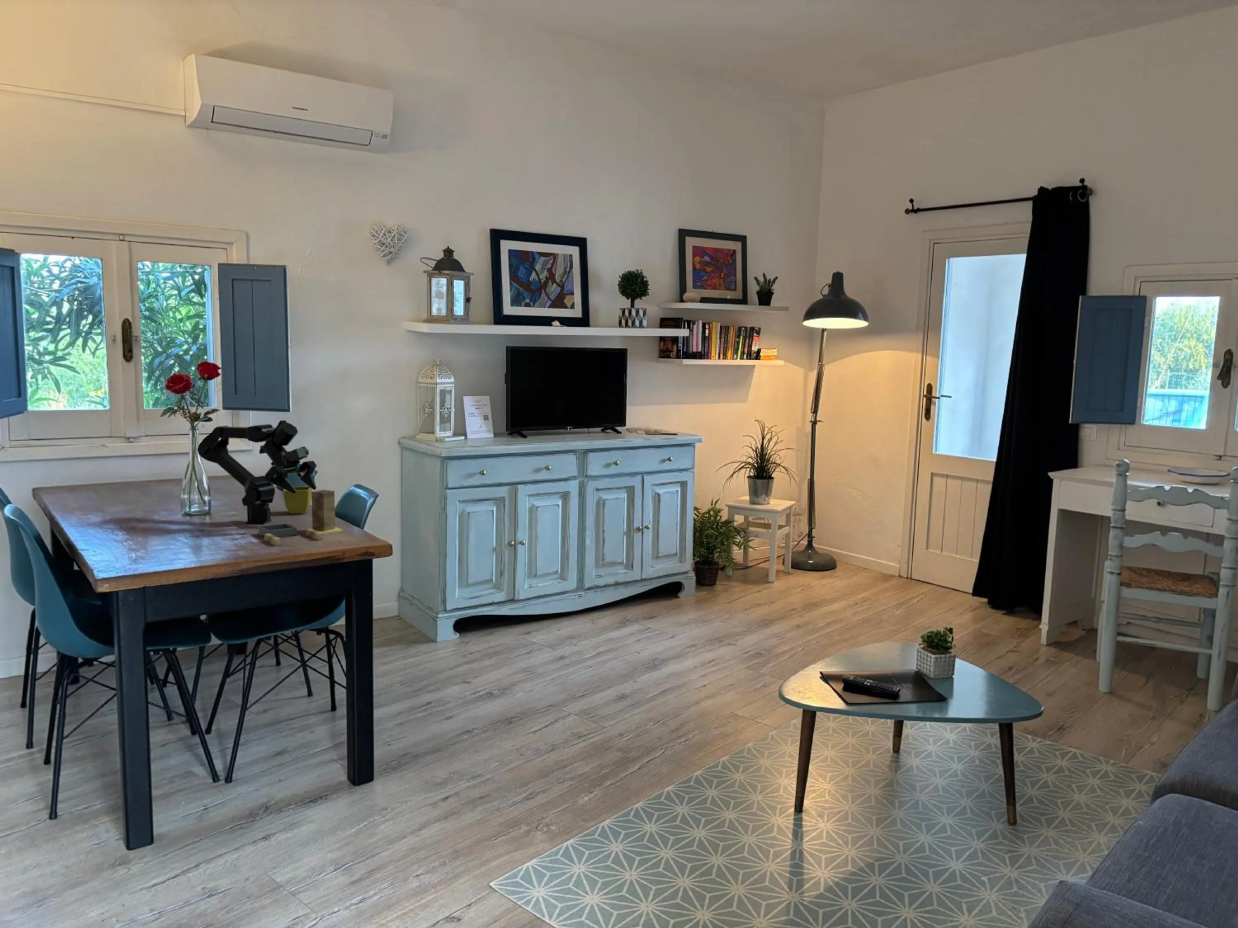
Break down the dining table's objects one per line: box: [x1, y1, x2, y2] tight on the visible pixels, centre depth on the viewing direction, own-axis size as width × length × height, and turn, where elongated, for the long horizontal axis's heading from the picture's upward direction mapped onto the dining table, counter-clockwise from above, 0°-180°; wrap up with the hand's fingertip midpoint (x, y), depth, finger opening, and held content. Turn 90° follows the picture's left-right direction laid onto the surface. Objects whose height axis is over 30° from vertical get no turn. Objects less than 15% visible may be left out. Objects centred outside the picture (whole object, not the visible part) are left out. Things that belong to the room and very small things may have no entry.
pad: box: [304, 526, 344, 535], centre depth 293 cm, size 9×9×1 cm
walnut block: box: [311, 489, 336, 531], centre depth 292 cm, size 5×5×12 cm
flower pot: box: [282, 485, 313, 515], centre depth 321 cm, size 9×9×9 cm
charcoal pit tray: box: [257, 522, 298, 538], centre depth 286 cm, size 9×9×2 cm
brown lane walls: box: [263, 527, 324, 547], centre depth 279 cm, size 10×14×2 cm
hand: (305, 490), depth 294 cm, fingers open, 9 cm apart
